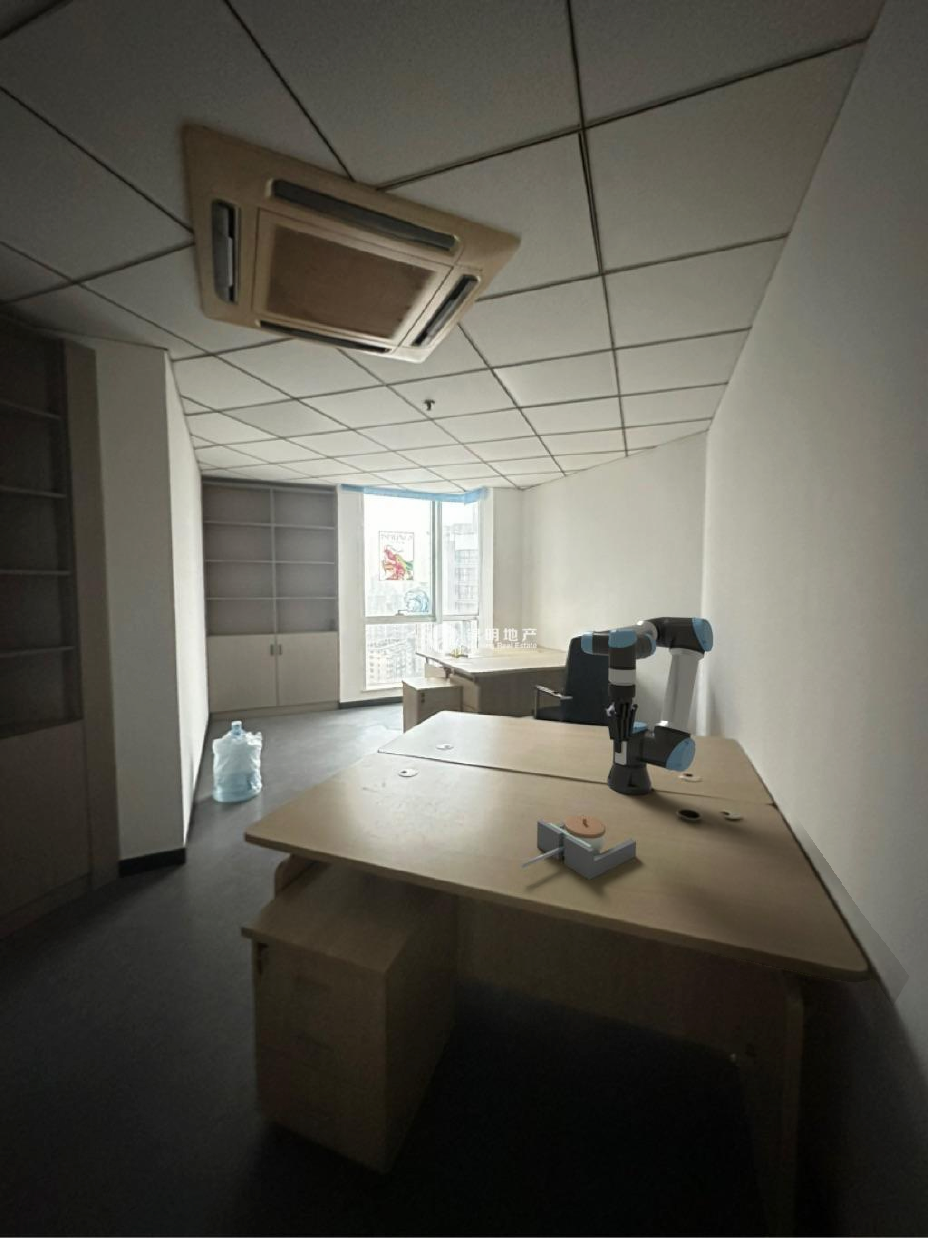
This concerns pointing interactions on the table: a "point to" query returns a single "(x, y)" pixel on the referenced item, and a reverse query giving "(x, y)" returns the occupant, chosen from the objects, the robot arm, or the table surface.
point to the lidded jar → (586, 830)
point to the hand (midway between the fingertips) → (620, 762)
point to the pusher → (553, 850)
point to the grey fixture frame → (582, 851)
